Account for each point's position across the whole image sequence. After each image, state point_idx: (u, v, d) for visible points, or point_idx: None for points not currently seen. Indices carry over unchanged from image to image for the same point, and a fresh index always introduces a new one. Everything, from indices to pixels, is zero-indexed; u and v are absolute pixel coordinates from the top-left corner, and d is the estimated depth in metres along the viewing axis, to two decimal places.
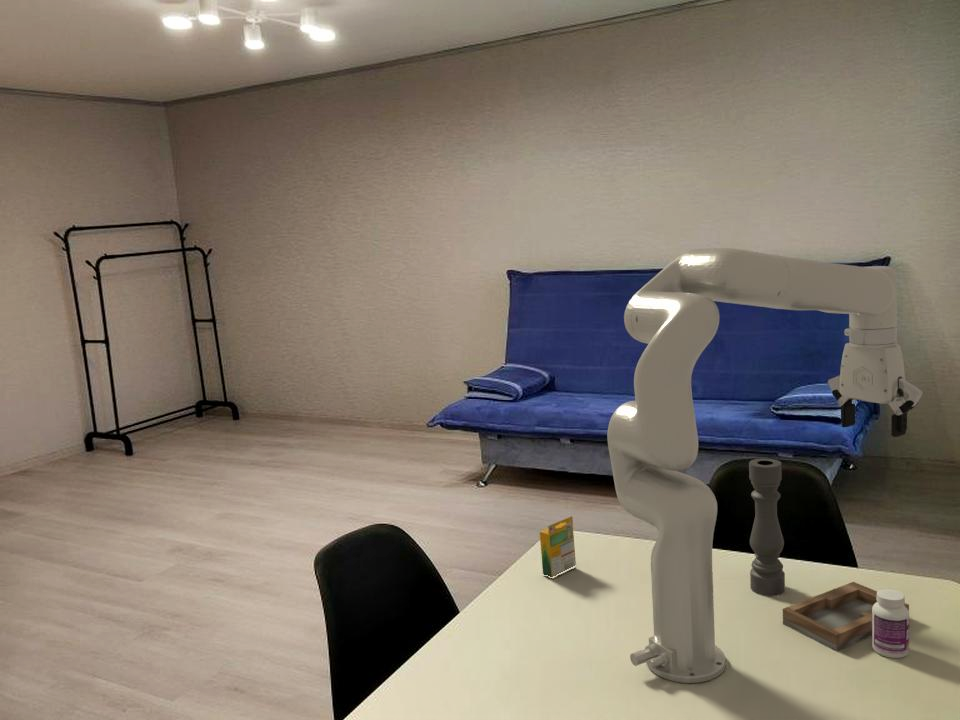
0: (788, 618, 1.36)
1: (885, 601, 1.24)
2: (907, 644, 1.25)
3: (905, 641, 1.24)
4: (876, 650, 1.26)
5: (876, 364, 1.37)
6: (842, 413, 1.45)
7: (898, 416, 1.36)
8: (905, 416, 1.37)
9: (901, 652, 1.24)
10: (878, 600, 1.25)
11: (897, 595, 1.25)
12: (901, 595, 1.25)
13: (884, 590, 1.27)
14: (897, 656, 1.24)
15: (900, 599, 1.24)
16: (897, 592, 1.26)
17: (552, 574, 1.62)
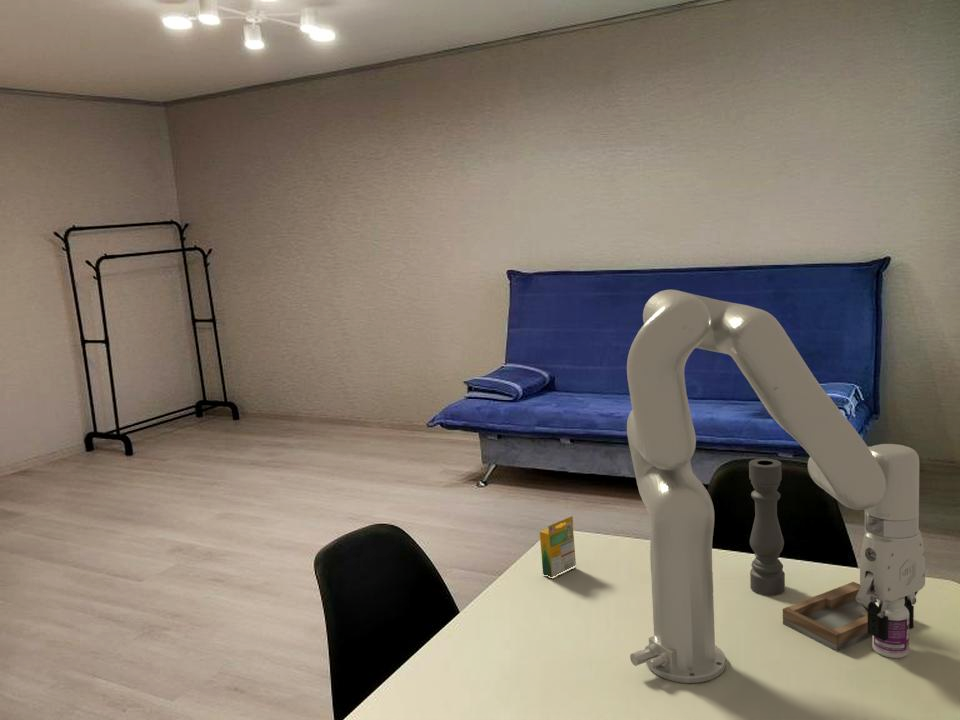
0: (788, 618, 1.36)
1: None
2: (907, 644, 1.25)
3: (905, 641, 1.24)
4: (876, 650, 1.26)
5: (917, 551, 1.23)
6: (886, 625, 1.23)
7: None
8: None
9: (901, 652, 1.24)
10: (878, 600, 1.25)
11: None
12: None
13: None
14: (897, 656, 1.24)
15: (900, 599, 1.24)
16: None
17: (552, 574, 1.62)
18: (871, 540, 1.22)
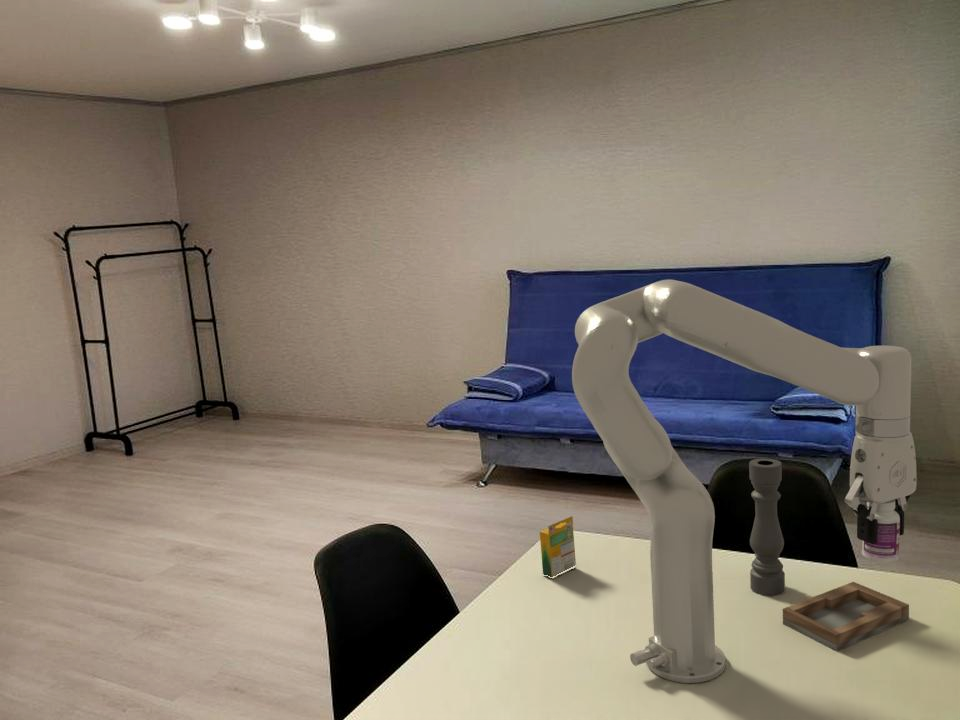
0: (788, 618, 1.36)
1: None
2: (897, 549, 1.23)
3: (895, 545, 1.23)
4: (866, 556, 1.25)
5: (908, 453, 1.21)
6: (875, 528, 1.22)
7: None
8: None
9: (890, 556, 1.23)
10: (868, 504, 1.24)
11: None
12: None
13: None
14: (886, 560, 1.23)
15: (890, 502, 1.22)
16: None
17: (552, 574, 1.62)
18: (861, 441, 1.21)
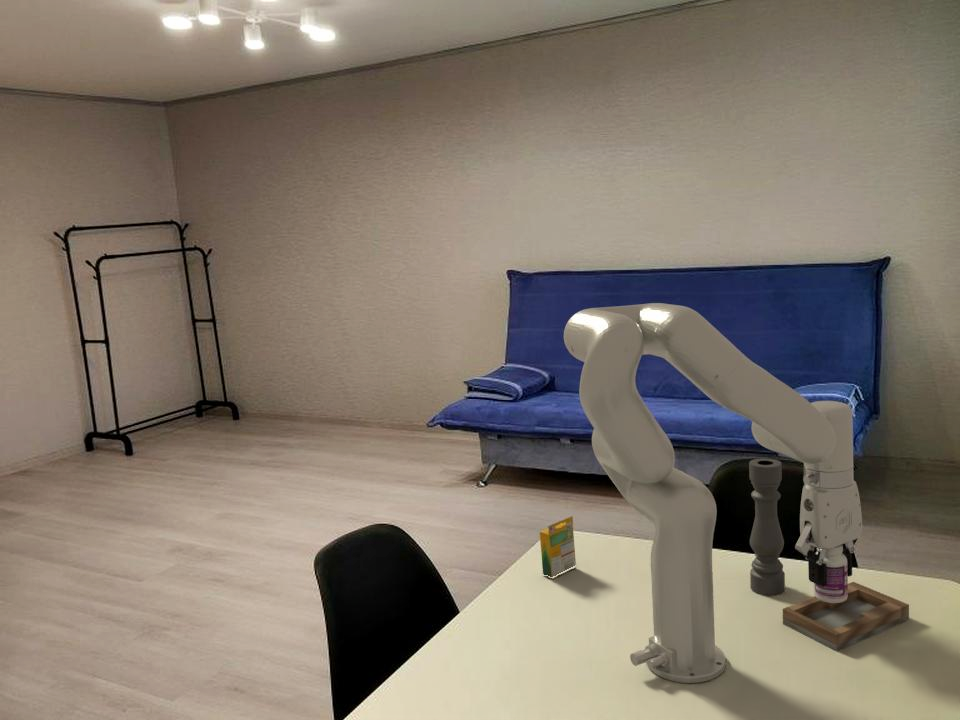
0: (788, 618, 1.36)
1: None
2: (845, 590, 1.32)
3: (843, 587, 1.31)
4: (817, 596, 1.33)
5: (853, 501, 1.30)
6: (825, 571, 1.30)
7: None
8: None
9: (839, 597, 1.31)
10: None
11: None
12: None
13: None
14: (836, 601, 1.31)
15: (838, 547, 1.31)
16: None
17: (552, 574, 1.62)
18: (809, 491, 1.29)
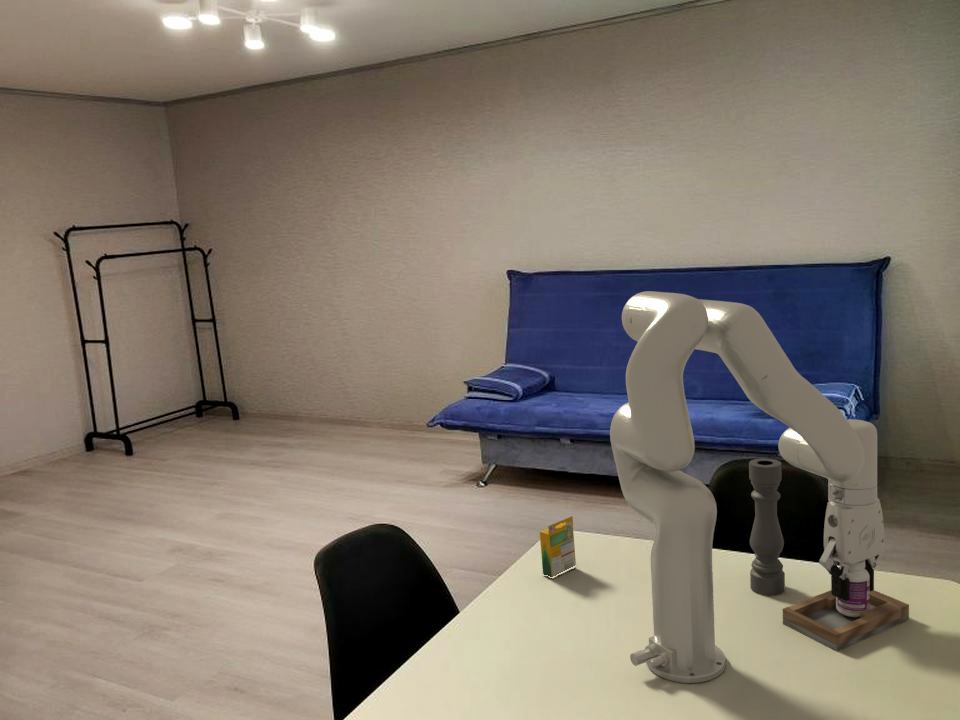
0: (788, 618, 1.36)
1: None
2: (867, 604, 1.35)
3: (865, 601, 1.34)
4: (839, 610, 1.36)
5: (876, 518, 1.33)
6: (848, 586, 1.33)
7: None
8: None
9: (861, 611, 1.34)
10: (841, 564, 1.36)
11: None
12: None
13: None
14: (858, 615, 1.34)
15: (861, 562, 1.34)
16: None
17: (552, 574, 1.62)
18: (833, 508, 1.32)
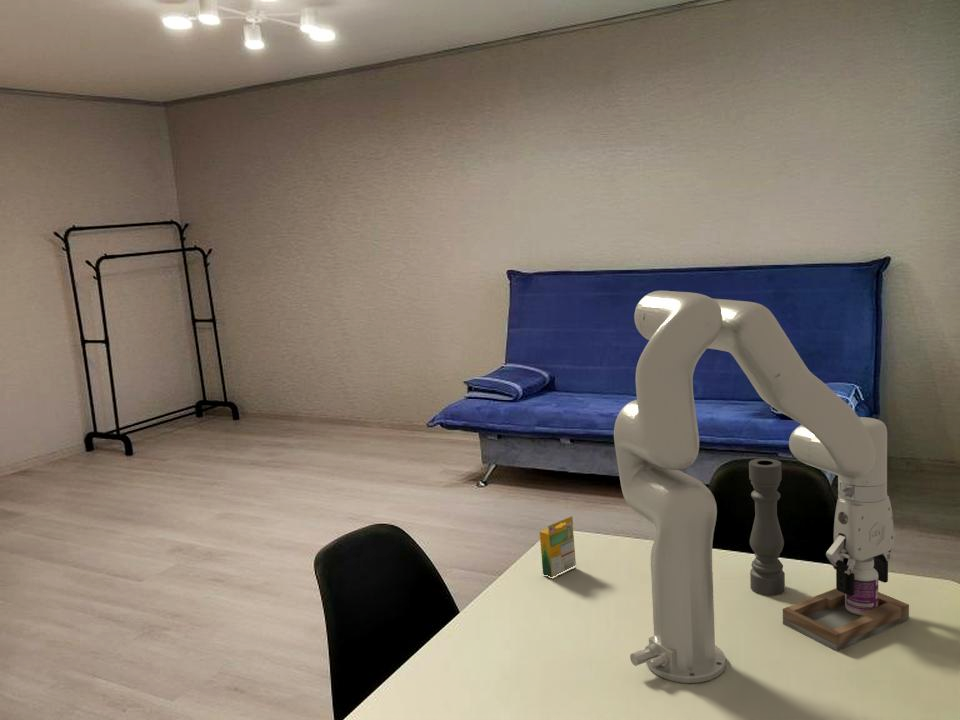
0: (788, 618, 1.36)
1: (856, 563, 1.36)
2: (876, 603, 1.36)
3: (874, 600, 1.35)
4: (848, 609, 1.38)
5: (886, 515, 1.34)
6: (853, 581, 1.34)
7: None
8: None
9: None
10: None
11: None
12: (871, 558, 1.36)
13: None
14: None
15: (869, 561, 1.35)
16: None
17: (552, 574, 1.62)
18: (843, 505, 1.33)
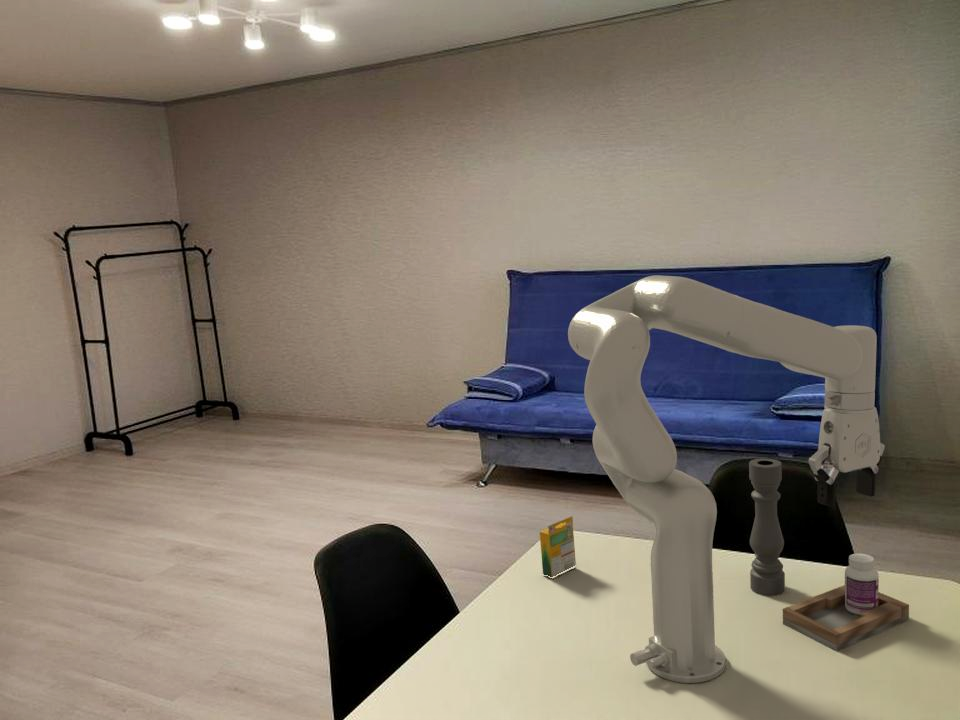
0: (788, 618, 1.36)
1: (856, 563, 1.36)
2: (876, 603, 1.36)
3: (874, 600, 1.35)
4: (848, 609, 1.38)
5: (872, 426, 1.30)
6: (834, 491, 1.29)
7: None
8: None
9: None
10: (850, 563, 1.37)
11: (867, 558, 1.36)
12: (871, 558, 1.36)
13: (856, 554, 1.38)
14: None
15: (870, 561, 1.35)
16: (867, 556, 1.37)
17: (552, 574, 1.62)
18: (829, 413, 1.29)
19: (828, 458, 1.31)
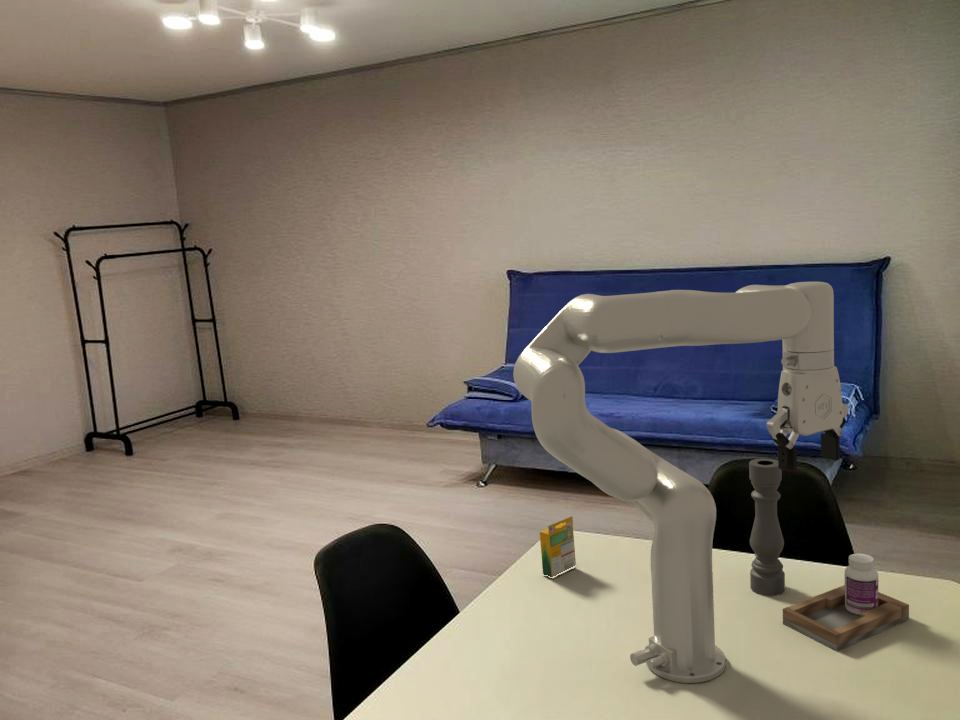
0: (788, 618, 1.36)
1: (856, 563, 1.36)
2: (876, 603, 1.36)
3: (874, 600, 1.35)
4: (848, 609, 1.38)
5: (833, 386, 1.24)
6: (795, 456, 1.23)
7: None
8: None
9: None
10: (850, 563, 1.37)
11: (867, 558, 1.36)
12: (871, 558, 1.36)
13: (856, 554, 1.38)
14: None
15: (870, 562, 1.35)
16: (867, 556, 1.37)
17: (552, 574, 1.62)
18: (787, 375, 1.23)
19: (788, 422, 1.26)
